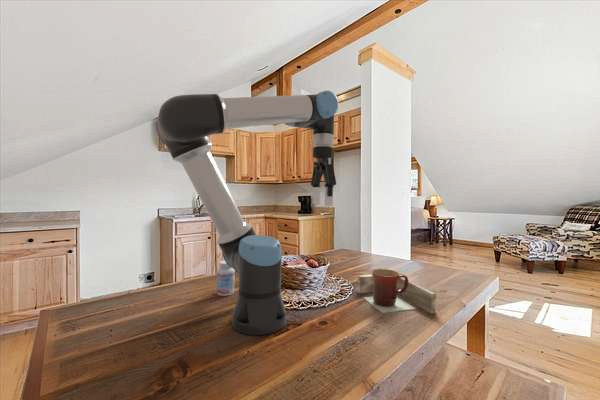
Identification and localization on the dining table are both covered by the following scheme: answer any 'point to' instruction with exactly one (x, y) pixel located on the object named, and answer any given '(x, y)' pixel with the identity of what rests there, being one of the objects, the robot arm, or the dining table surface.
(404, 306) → the pad
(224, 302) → the dining table surface
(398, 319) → the dining table surface
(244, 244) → the robot arm
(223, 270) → the pill bottle
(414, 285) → the back wall
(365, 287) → the side wall
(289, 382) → the dining table surface
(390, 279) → the mug
